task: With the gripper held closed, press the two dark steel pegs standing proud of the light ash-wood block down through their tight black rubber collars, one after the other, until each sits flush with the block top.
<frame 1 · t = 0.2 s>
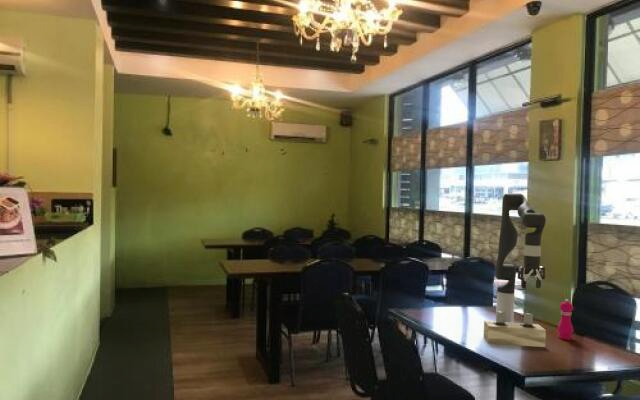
hand: (530, 288, 244), 27 cm above the table, tool pointing down, fingers open, 8 cm apart
collar block: (513, 341, 248), on the table
pepper mill: (565, 338, 259), on the table
peg 2: (528, 321, 247), point 10 cm above the table, slide at 6.0 cm
peg 1: (500, 320, 249), point 10 cm above the table, slide at 6.0 cm
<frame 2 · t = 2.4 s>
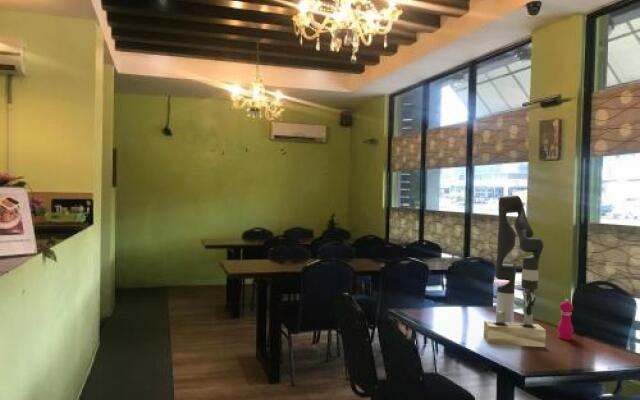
hand: (528, 314, 247), 14 cm above the table, tool pointing down, fingers closed
peg 2: (528, 322, 247), point 10 cm above the table, slide at 5.8 cm, touching gripper
everything else where it was.
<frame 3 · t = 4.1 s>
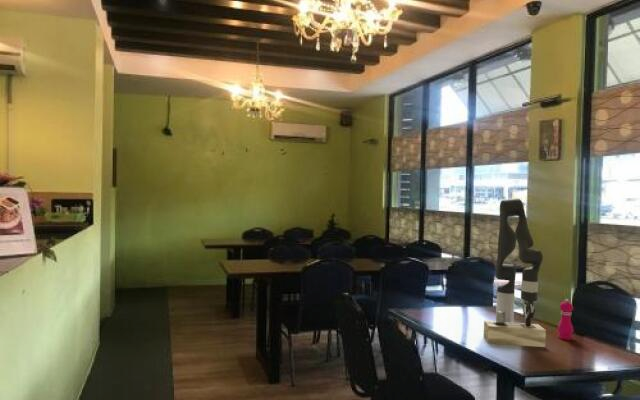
hand: (527, 325, 247), 8 cm above the table, tool pointing down, fingers closed
peg 2: (527, 333, 247), point 4 cm above the table, slide at 0.2 cm, touching gripper
everything else where it was.
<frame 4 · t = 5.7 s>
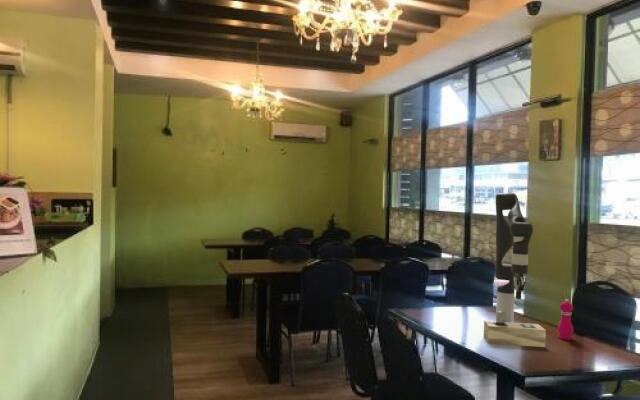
hand: (518, 298, 247), 21 cm above the table, tool pointing down, fingers closed
peg 2: (527, 333, 247), point 4 cm above the table, slide at 0.2 cm
everything else where it was.
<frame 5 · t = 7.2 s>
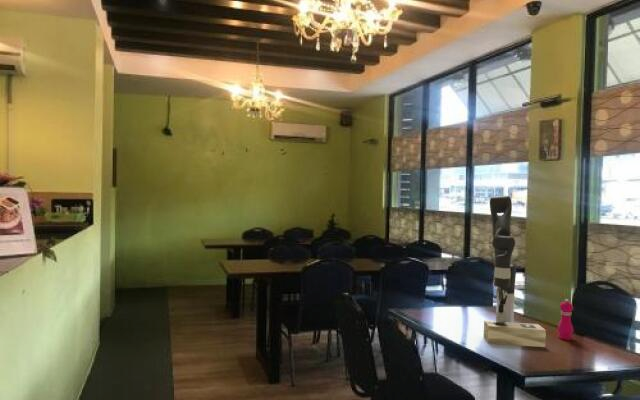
hand: (500, 312, 249), 14 cm above the table, tool pointing down, fingers closed
peg 1: (500, 320, 249), point 10 cm above the table, slide at 6.0 cm, touching gripper
everything else where it was.
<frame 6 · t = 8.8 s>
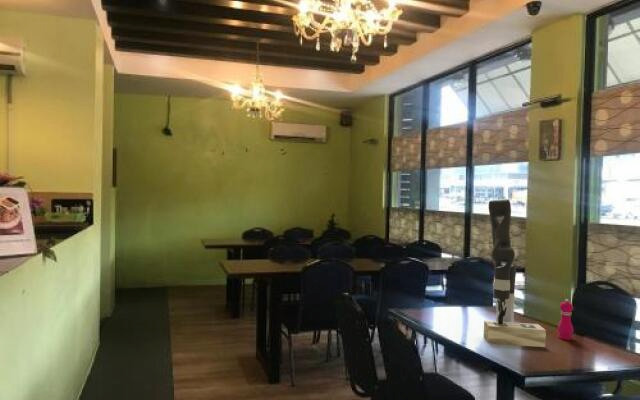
hand: (500, 323, 249), 8 cm above the table, tool pointing down, fingers closed
peg 1: (500, 331, 249), point 4 cm above the table, slide at 0.3 cm, touching gripper
everything else where it was.
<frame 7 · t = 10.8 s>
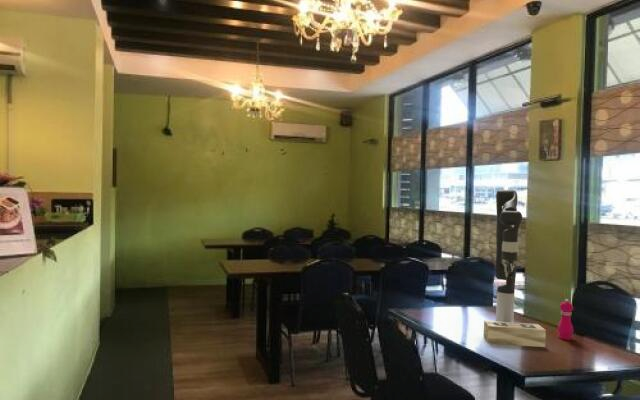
hand: (508, 284, 257), 26 cm above the table, tool pointing down, fingers closed
peg 1: (500, 331, 249), point 4 cm above the table, slide at 0.2 cm
everything else where it was.
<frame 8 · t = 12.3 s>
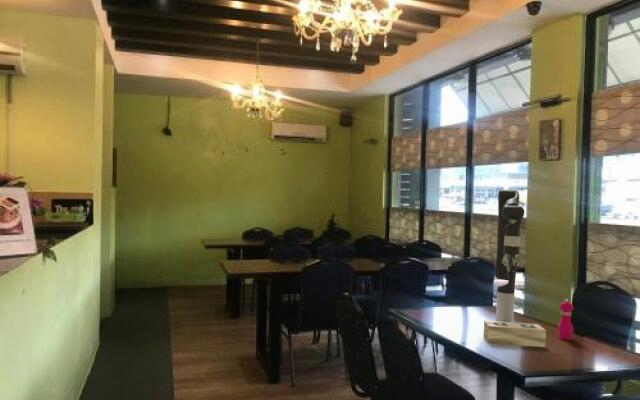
hand: (510, 278, 259), 29 cm above the table, tool pointing down, fingers closed
nothing on the table moved.
at the end: peg 2 slide at 0.2 cm; peg 1 slide at 0.2 cm; pepper mill moved 0.2 cm from its start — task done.
